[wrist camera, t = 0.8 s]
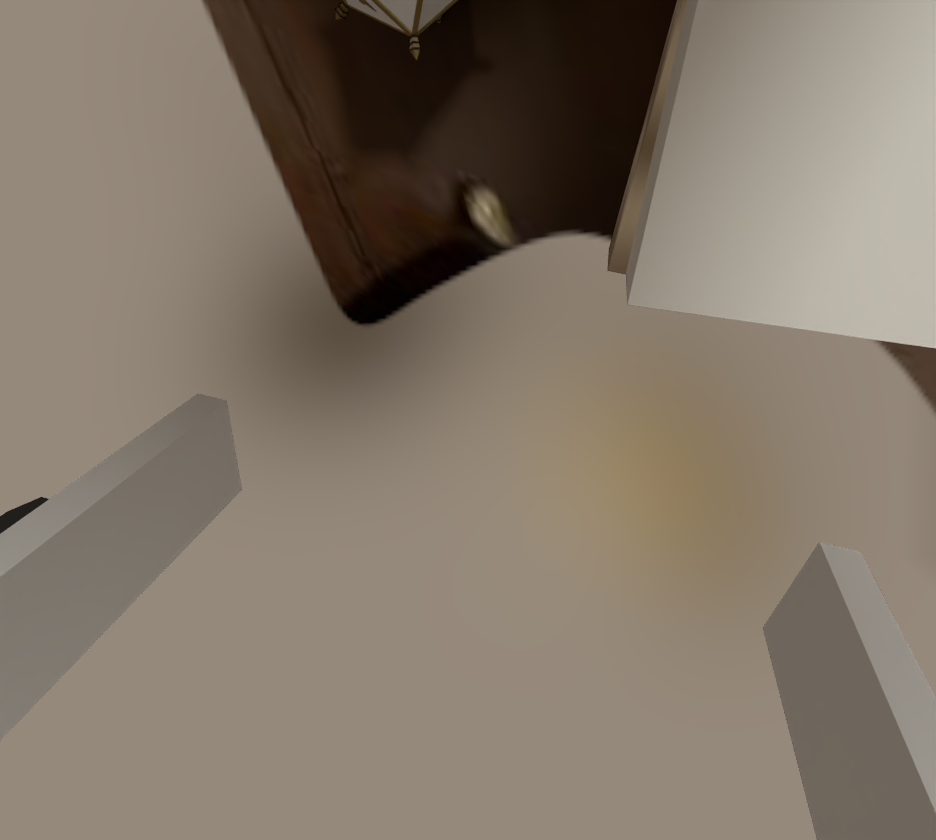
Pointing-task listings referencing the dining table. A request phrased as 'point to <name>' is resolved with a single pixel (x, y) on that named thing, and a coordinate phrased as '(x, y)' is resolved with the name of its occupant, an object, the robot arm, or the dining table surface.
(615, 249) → the birch base block
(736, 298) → the white top block
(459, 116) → the dining table surface
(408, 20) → the game die
